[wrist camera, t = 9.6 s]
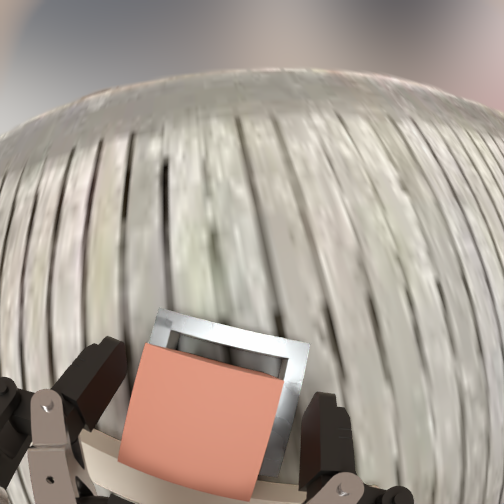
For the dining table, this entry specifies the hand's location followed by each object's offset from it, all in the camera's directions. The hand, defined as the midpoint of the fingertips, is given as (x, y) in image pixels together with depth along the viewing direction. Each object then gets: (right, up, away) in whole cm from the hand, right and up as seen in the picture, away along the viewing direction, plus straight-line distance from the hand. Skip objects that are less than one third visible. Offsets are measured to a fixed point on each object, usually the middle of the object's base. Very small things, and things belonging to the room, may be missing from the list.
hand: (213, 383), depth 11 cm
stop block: (-1, -4, +5) cm, 6 cm away
